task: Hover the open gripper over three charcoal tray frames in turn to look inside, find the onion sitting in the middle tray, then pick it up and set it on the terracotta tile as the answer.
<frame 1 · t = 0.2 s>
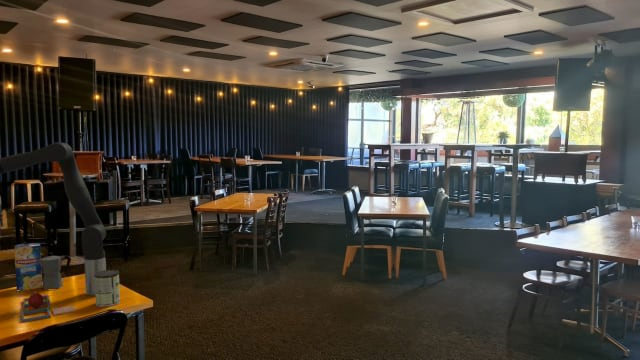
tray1: (36, 302, 218), on the table
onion: (36, 309, 209), resting in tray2
tile: (63, 311, 206), on the table
coffee can: (107, 303, 216), on the table
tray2: (36, 309, 209), on the table
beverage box: (29, 288, 240), on the table
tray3: (36, 316, 200), on the table
coffeepot: (55, 287, 242), on the table
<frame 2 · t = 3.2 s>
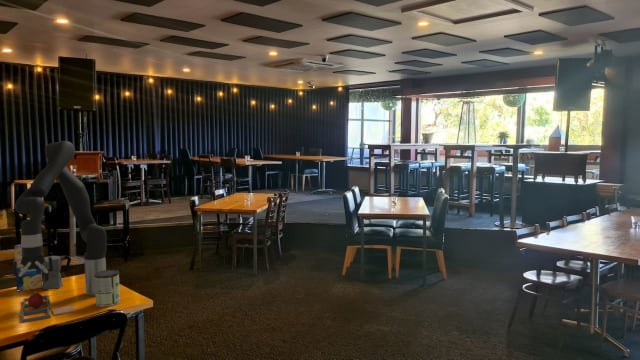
hand: (33, 283, 199), 14 cm above the table, fingers open, 8 cm apart
nothing on the table moved.
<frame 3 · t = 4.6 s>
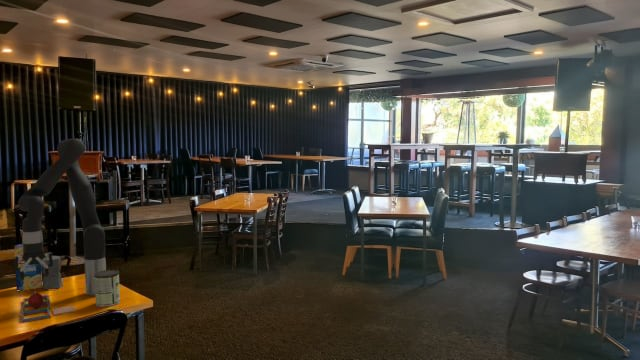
hand: (34, 278, 208), 14 cm above the table, fingers open, 8 cm apart
nothing on the table moved.
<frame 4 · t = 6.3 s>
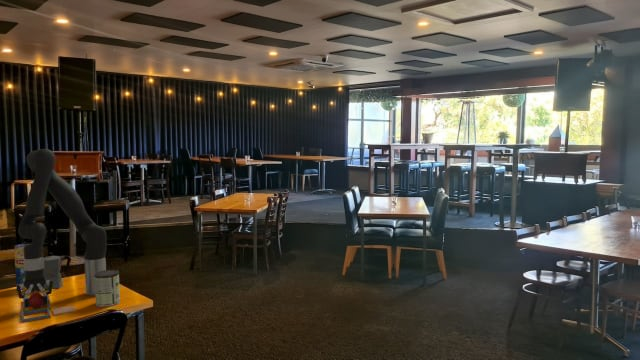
hand: (36, 305, 209), 2 cm above the table, fingers closed on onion, 6 cm apart
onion: (36, 309, 209), resting in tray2, touching gripper
everything else where it was.
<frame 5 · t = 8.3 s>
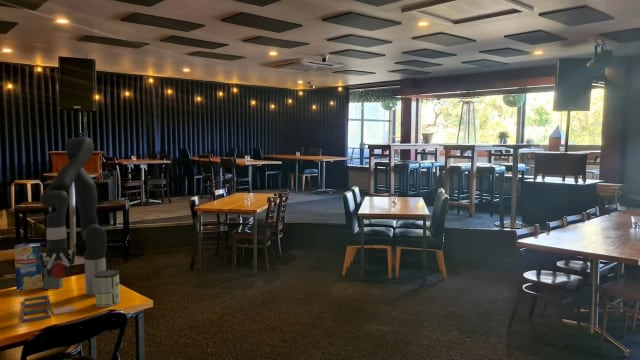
hand: (58, 275, 205), 16 cm above the table, fingers closed on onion, 6 cm apart
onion: (58, 279, 205), point 14 cm above the table, touching gripper
everything else where it was.
when the fingers open (4 cm above the table, at t = 10.8 s): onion drops 1 cm, resting on tile.
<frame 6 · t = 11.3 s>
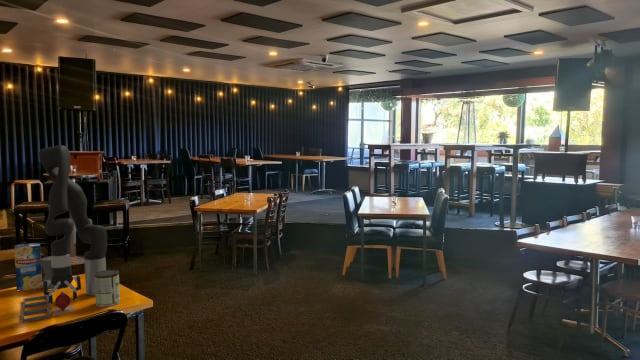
hand: (63, 301, 206), 4 cm above the table, fingers open, 8 cm apart
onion: (63, 310, 206), resting on tile
everything else where it was.
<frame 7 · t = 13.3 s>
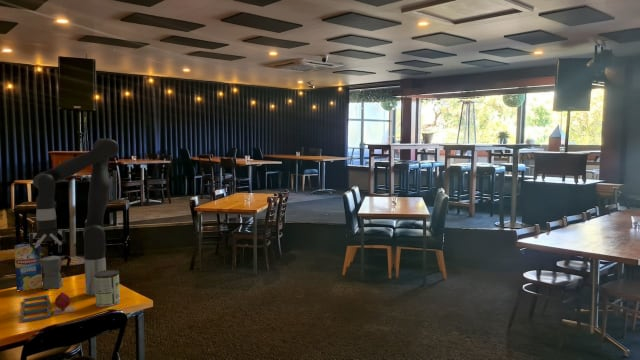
hand: (48, 254, 213), 23 cm above the table, fingers open, 8 cm apart
nothing on the table moved.
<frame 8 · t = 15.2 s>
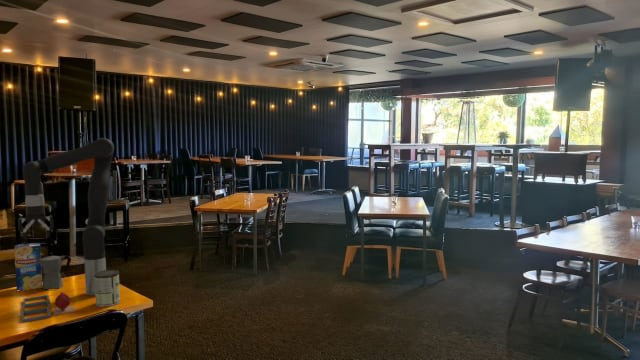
hand: (36, 239, 222), 28 cm above the table, fingers open, 8 cm apart
nothing on the table moved.
at the end: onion inside the target area on the tile (0.2 cm from its centre), point 0.4 cm above the tile's base; the gripper is holding nothing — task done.
